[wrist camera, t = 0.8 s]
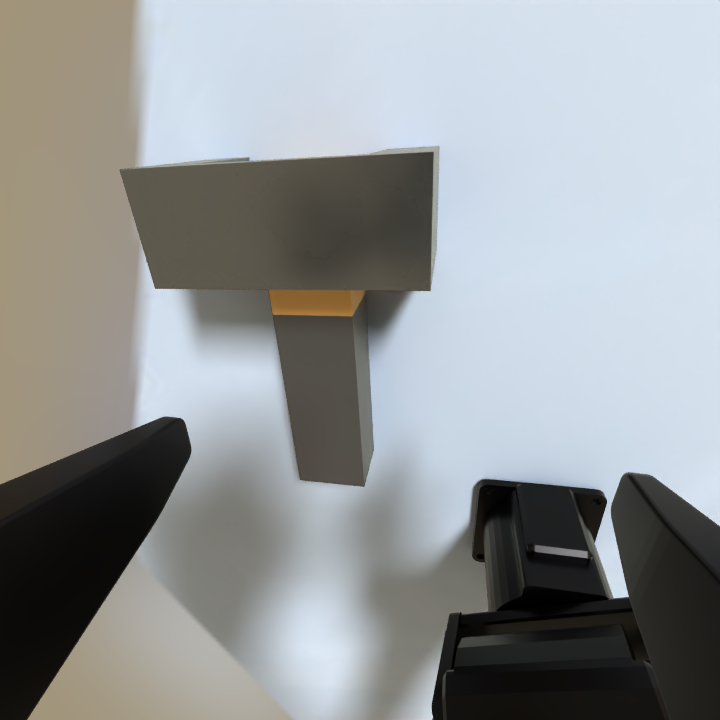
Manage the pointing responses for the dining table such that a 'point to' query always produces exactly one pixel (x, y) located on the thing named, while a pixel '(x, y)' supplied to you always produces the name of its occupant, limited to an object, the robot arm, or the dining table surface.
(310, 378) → the plug
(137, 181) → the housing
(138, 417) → the dining table surface
